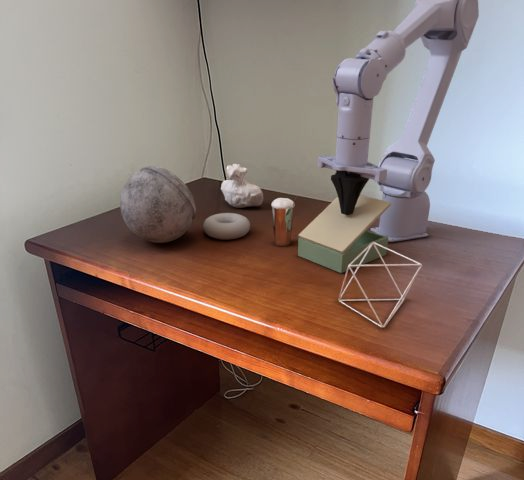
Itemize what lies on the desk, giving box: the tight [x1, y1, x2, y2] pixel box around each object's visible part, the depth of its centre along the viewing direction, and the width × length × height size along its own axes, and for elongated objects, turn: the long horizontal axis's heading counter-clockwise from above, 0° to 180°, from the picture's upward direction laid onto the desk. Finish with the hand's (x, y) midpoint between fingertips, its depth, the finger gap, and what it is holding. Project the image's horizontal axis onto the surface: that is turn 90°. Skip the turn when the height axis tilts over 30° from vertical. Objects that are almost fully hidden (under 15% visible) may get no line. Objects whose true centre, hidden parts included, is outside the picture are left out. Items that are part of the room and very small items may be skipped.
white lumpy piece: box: [220, 163, 264, 209], centre depth 130 cm, size 12×8×11 cm
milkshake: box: [270, 196, 298, 247], centre depth 109 cm, size 4×5×10 cm
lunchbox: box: [297, 229, 389, 274], centre depth 105 cm, size 13×11×4 cm
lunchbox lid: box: [298, 194, 391, 254], centre depth 102 cm, size 14×11×1 cm
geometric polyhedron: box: [338, 242, 423, 329], centre depth 85 cm, size 12×11×9 cm
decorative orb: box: [119, 165, 197, 244], centre depth 109 cm, size 15×14×15 cm
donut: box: [202, 212, 251, 241], centre depth 116 cm, size 10×4×10 cm
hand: (347, 213), depth 102 cm, fingers closed, pressing on lunchbox lid
